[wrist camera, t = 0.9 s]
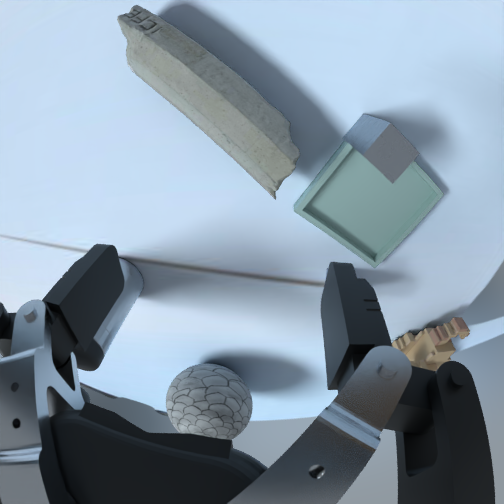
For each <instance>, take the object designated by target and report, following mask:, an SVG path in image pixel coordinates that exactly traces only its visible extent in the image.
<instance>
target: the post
mask: <svg viewBox="0 0 504 504" xmlns="http://www.w3.org/2000/svg"><path fill="white" fill-rule="evenodd" d="M343 139H344V140H345V141H346V142H348V143H349V144H350V145H351V146H352V147H353V148H355V149H356V150H357V151H358V152H359V153H360V154H361V155H362V156H364V157H365V158H366V159H367V160H368V161H369V162H370V163H371V164H372V165H373V166H374V167H376V168H377V169H378V170H379V171H380V172H381V173H382V174H383V175H384V176H385V177H386V178H387V179H388V180H389V181H390V182H391V183H392V184H393V183H394V182H395V181H396V180H397V179H398V178H399V177H400V175H401V174H402V173H403V172H404V171H405V170H406V169H407V168H408V166H409V165H410V164H411V163H412V162H413V161H414V160H415V158H416V157H417V156H418V155H419V154H420V153H419V152H418V151H417V150H416V149H415V148H414V147H413V146H412V144H411V143H410V142H409V141H408V140H407V139H406V138H405V137H404V136H403V135H402V134H401V133H400V132H399V131H398V130H397V129H396V128H395V127H394V126H393V125H392V124H391V123H390V122H387V121H384V120H382V119H378V118H375V117H372V116H369V115H366V114H363V115H362V116H361V117H360V118H359V120H358V121H357V122H356V123H355V124H354V125H353V127H352V128H351V129H350V130H349V131H348V133H347V134H346V135H345V136H344V137H343Z"/></svg>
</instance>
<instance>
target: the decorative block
mask: <svg viewBox="0 0 504 504" xmlns="http://www.w3.org/2000/svg"><path fill="white" fill-rule="evenodd" d="M117 20H118V23H119V25H120V27H121V30H122V33H123V34H124V36H125V37H126V39H127V43H128V45H127V48H126V56H127V62H128V66H129V67H130V68H131V70H132V72H134V73H135V74H136V75H137V76H138V77H140V78H141V79H142V80H143V81H145V82H146V83H147V84H148V85H149V86H151V87H152V88H153V89H154V90H155V91H157V92H158V93H159V94H160V95H161V96H162V97H164V98H165V99H166V100H167V101H169V102H170V103H171V104H172V105H173V106H174V107H176V108H177V109H178V110H179V111H180V112H182V113H183V114H184V115H185V116H186V117H187V118H189V119H190V120H191V121H192V122H193V123H194V124H195V125H196V126H197V127H199V128H200V129H201V130H202V131H203V132H204V133H205V134H207V135H208V136H209V137H210V138H211V139H212V140H213V141H214V142H215V143H216V144H217V145H219V146H220V147H221V148H222V149H223V150H224V151H225V152H226V153H227V154H228V155H230V156H231V157H232V158H233V159H234V160H235V161H236V162H237V163H238V164H239V165H240V166H241V167H242V168H243V169H244V170H246V171H247V172H248V173H249V174H250V175H251V176H252V177H253V178H254V179H255V180H256V181H257V182H258V183H259V184H260V185H261V186H262V187H263V188H265V189H266V190H267V191H268V192H269V194H270V195H271V196H272V197H273V198H274V199H275V200H276V195H275V192H276V191H277V190H278V189H279V187H280V185H281V184H282V182H283V180H284V179H285V178H287V177H288V176H289V175H290V174H292V172H293V170H294V169H295V165H296V161H297V160H298V158H299V156H300V153H299V149H298V148H297V147H296V146H295V145H294V144H293V142H292V140H291V136H290V122H289V121H288V120H286V119H285V118H284V116H283V114H282V113H281V112H280V111H278V110H277V109H276V108H275V107H273V106H271V105H270V104H269V103H268V102H267V101H266V100H265V99H264V98H263V97H262V96H261V95H260V94H259V93H258V92H257V91H256V90H255V89H254V88H253V87H252V86H251V85H250V84H249V83H247V82H246V81H245V80H244V79H243V78H242V77H240V76H239V75H238V74H237V73H236V72H234V71H233V70H232V69H231V68H229V67H228V66H227V65H226V64H224V63H223V62H222V61H221V60H219V59H218V58H217V57H215V56H214V55H213V54H211V53H210V52H209V51H207V50H206V49H205V48H203V47H202V46H201V45H200V44H198V43H197V42H196V41H194V40H193V39H191V38H190V37H188V36H187V35H185V34H184V33H183V32H181V31H180V30H178V29H177V28H175V27H174V26H172V25H171V24H169V23H168V22H166V21H165V20H163V19H162V18H160V17H158V16H157V15H155V14H152V13H151V12H149V11H148V10H146V9H144V8H142V7H140V6H138V5H136V6H133V7H132V8H131V10H130V12H129V13H125V14H124V15H120V16H118V18H117Z"/></svg>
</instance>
